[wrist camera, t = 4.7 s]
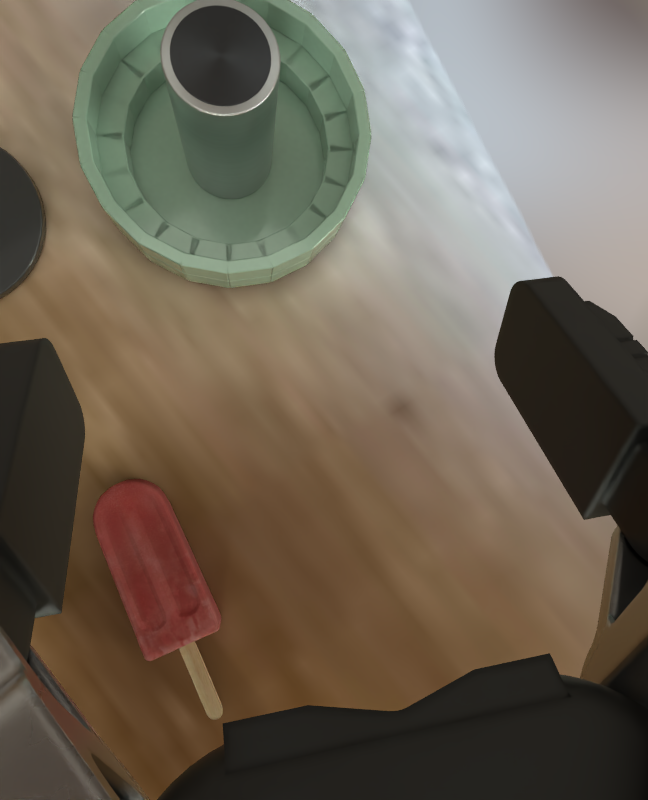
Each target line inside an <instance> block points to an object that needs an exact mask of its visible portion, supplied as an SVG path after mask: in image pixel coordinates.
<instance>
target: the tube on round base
mask: <svg viewBox="0 0 648 800" xmlns="http://www.w3.org/2000/svg"><path fill="white" fill-rule="evenodd" d="M160 57H161V64H162V69H163V73H164V77H165V81H166V84H167V88H168V92H169V96H170V100H171V103H172V107H173V111H174V115H175V119H176V122H177V126H178V130H179V134H180V138H181V141H182V145H183V149H184V153H185V157H186V160H187V164H188V168H189V170H190V173H191V175H192V177H193V178H194V180H195V181H196V182H197V183H198V184H199V186H201V187H202V188H203V189H204V190H205V191H207V192H208V193H210V194H212V195H214V196H217V197H220V198H225V199H237V198H242V197H246V196H248V195H250V194H252V193H254V192H255V191H256V190H258V189H259V188H260V187H261V186H262V185H263V183H264V182H265V180H266V179H267V177H268V175H269V172H270V169H271V163H272V152H273V141H274V130H275V119H276V109H277V98H278V87H279V76H280V63H281V60H280V51H279V46H278V43H277V40H276V38H275V36H274V34H273V32H272V30H271V29H270V27H269V25H268V24H267V23H266V22H265V20H264V19H263V18H262V17H261V16H260V15H259V14H258V13H257V12H255V11H254V10H253V9H251V8H250V7H248V6H246V5H244V4H242V3H240V2H238V1H235V0H197V1H194V2H192V3H190V4H188V5H186V6H185V7H183V8H182V9H181V10H179V11H178V12H177V13H176V14H175V15H174V16H173V17H172V19H171V20H170V22H169V23H168V25H167V27H166V29H165V31H164V34H163V37H162V41H161V47H160Z"/></svg>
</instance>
